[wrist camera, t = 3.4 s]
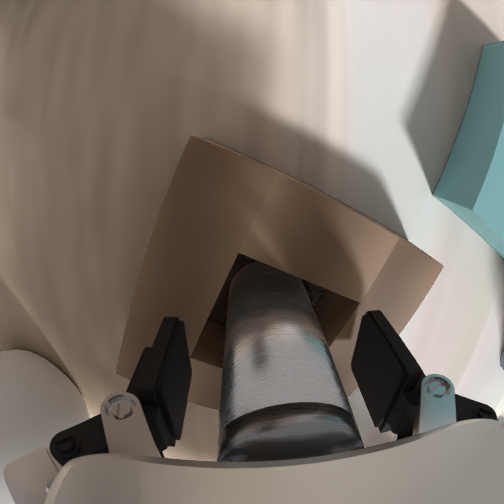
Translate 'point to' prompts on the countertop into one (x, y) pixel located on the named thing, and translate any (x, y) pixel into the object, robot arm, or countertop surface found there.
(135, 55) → the countertop surface
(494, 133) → the socket block
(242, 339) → the pin
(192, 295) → the mount block
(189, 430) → the countertop surface
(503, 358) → the grey-blue cup
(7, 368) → the decorative egg
